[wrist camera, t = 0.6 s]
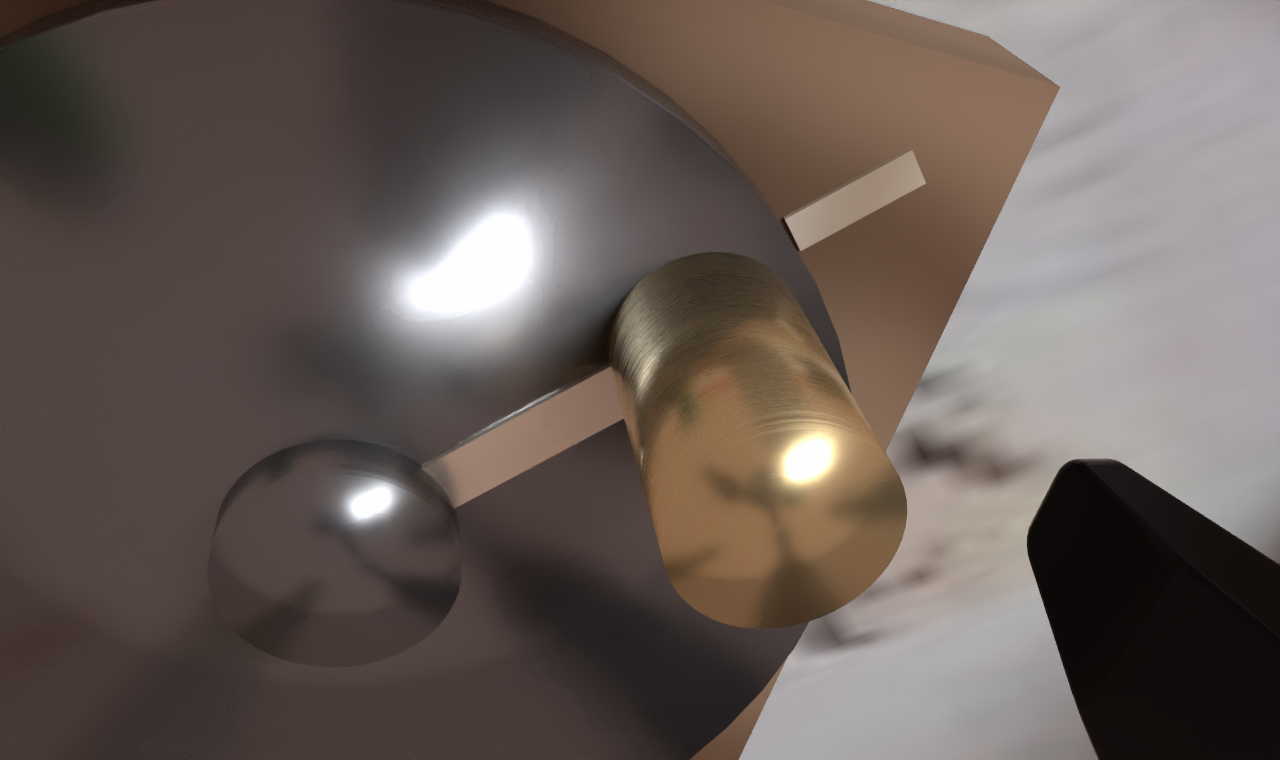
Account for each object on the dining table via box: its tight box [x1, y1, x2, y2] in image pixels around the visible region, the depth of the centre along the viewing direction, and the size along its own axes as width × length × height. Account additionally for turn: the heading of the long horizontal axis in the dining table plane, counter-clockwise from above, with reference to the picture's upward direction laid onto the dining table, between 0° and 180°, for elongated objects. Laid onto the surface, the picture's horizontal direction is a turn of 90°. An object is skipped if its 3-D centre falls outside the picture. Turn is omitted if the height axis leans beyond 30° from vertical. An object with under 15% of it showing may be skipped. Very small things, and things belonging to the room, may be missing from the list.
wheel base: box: [0, 0, 1060, 760], centre depth 23 cm, size 20×20×3 cm
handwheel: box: [0, 0, 907, 760], centre depth 19 cm, size 18×18×6 cm
